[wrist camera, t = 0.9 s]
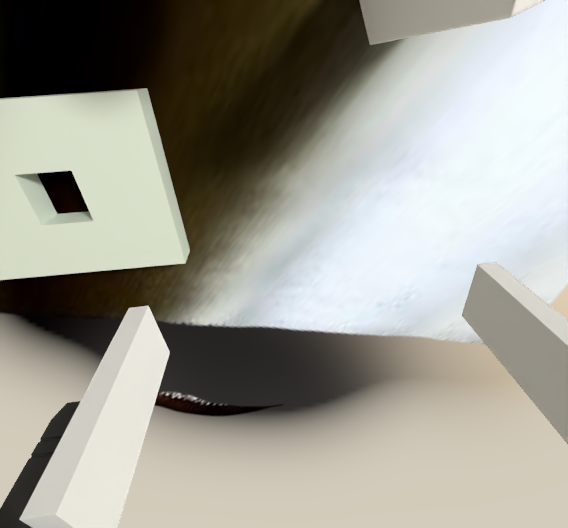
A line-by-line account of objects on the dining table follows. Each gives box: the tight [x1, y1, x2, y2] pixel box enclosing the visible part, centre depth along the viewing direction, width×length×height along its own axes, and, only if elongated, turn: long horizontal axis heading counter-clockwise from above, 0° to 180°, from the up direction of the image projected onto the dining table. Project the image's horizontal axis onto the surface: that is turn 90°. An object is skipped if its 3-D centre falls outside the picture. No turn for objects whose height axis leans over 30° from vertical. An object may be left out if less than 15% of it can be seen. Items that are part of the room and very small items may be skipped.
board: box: [0, 88, 190, 280], centre depth 32 cm, size 18×22×3 cm
